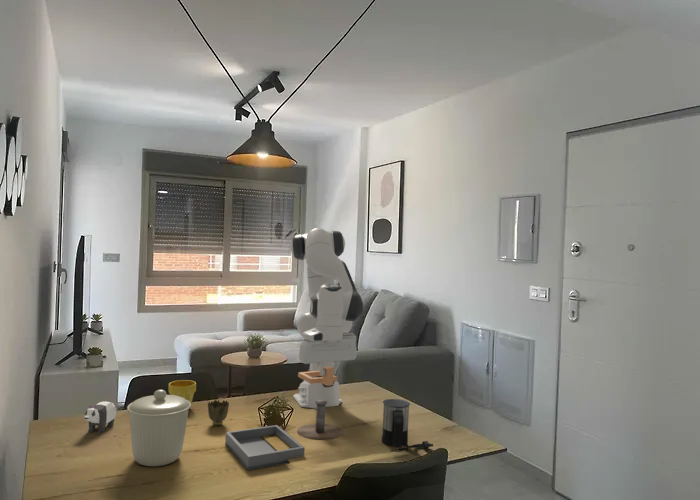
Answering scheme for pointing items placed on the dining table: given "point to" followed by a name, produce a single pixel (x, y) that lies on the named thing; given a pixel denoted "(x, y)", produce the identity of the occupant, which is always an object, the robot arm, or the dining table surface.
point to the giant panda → (100, 416)
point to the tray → (261, 447)
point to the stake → (320, 426)
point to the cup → (218, 411)
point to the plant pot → (183, 389)
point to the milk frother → (397, 425)
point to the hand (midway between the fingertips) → (327, 374)
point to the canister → (158, 428)
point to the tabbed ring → (324, 380)
